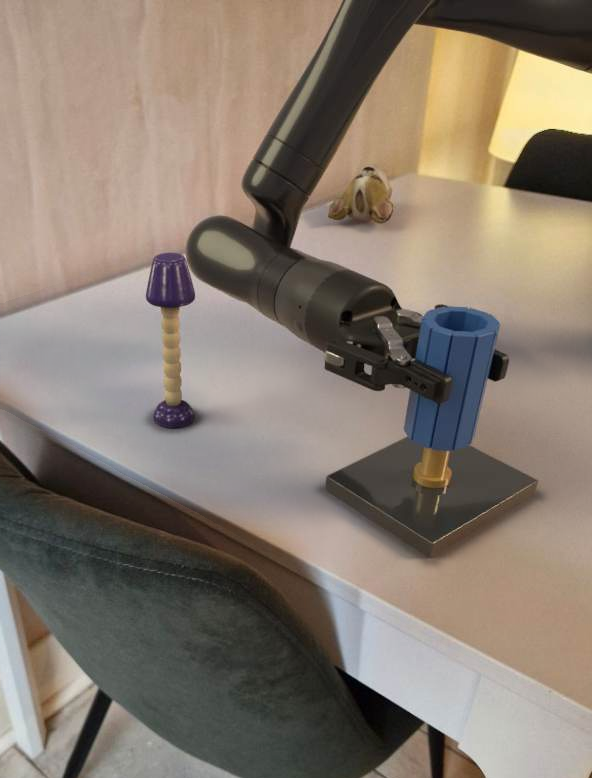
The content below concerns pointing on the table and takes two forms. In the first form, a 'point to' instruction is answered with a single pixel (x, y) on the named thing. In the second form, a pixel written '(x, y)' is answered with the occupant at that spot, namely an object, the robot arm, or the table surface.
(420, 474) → the yellow peg on plate
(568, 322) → the table surface
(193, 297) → the toy lamp
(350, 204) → the ceramic sculpture
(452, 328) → the sleeve
